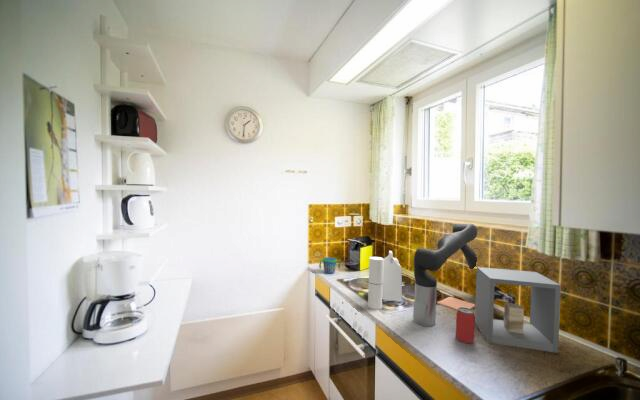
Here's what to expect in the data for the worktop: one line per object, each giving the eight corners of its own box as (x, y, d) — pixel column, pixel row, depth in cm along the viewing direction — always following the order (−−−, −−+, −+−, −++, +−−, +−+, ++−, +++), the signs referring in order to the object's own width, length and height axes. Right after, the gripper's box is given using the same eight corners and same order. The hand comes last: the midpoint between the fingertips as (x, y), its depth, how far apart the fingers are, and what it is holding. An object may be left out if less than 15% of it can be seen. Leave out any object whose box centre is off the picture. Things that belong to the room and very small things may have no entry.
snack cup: (337, 270, 200) (338, 256, 199) (341, 274, 189) (342, 260, 189) (317, 271, 196) (318, 257, 196) (320, 275, 186) (321, 261, 186)
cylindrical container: (365, 306, 136) (366, 258, 135) (372, 302, 141) (374, 255, 141) (377, 310, 131) (379, 260, 130) (384, 306, 136) (386, 258, 136)
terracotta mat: (464, 312, 131) (464, 311, 131) (437, 303, 142) (437, 302, 142) (476, 306, 140) (476, 304, 140) (449, 297, 151) (449, 296, 151)
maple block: (522, 333, 106) (523, 309, 106) (508, 331, 108) (509, 307, 107) (517, 327, 111) (518, 304, 111) (503, 325, 112) (504, 302, 112)
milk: (378, 292, 155) (379, 249, 154) (398, 294, 153) (399, 250, 153) (379, 301, 143) (381, 253, 143) (401, 302, 142) (403, 254, 141)
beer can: (472, 337, 108) (473, 308, 108) (475, 345, 102) (477, 315, 102) (454, 334, 110) (455, 305, 110) (456, 342, 104) (458, 312, 104)
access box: (557, 352, 99) (560, 285, 98) (487, 342, 105) (490, 278, 104) (533, 330, 115) (536, 272, 115) (474, 321, 122) (476, 266, 121)
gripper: (474, 281, 138) (485, 292, 123) (505, 283, 135) (520, 295, 119) (474, 295, 139) (484, 307, 123) (505, 298, 135) (520, 312, 119)
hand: (502, 301), depth 121 cm, fingers open, 8 cm apart
